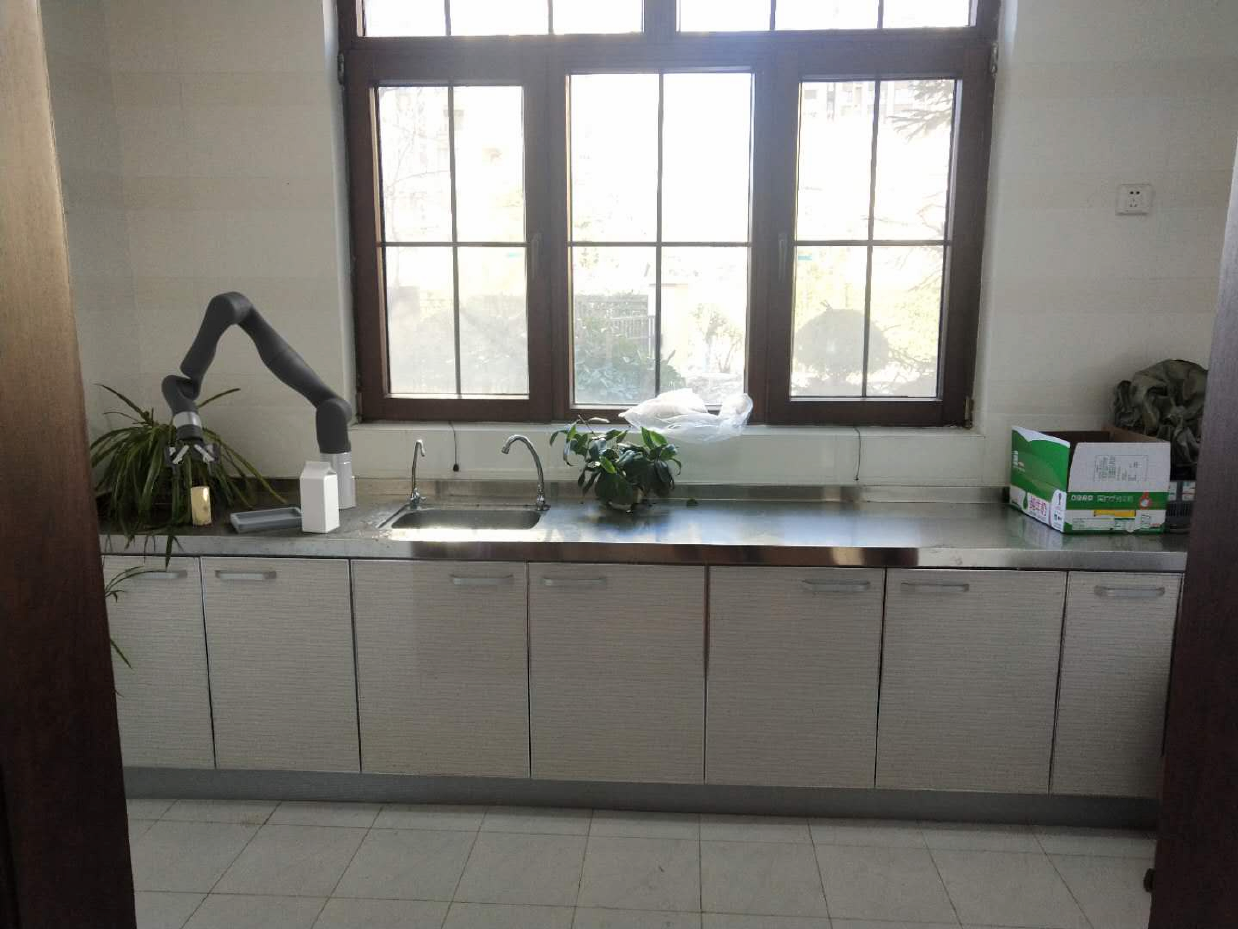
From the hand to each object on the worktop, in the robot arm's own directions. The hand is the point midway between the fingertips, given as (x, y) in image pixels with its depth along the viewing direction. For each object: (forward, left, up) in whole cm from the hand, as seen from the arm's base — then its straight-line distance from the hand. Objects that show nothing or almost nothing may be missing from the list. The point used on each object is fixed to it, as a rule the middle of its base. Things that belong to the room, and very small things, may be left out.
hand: (195, 475), depth 243 cm
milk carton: (-27, +31, -12) cm, 43 cm away
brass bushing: (0, +8, -12) cm, 15 cm away
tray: (-16, +18, -12) cm, 27 cm away
